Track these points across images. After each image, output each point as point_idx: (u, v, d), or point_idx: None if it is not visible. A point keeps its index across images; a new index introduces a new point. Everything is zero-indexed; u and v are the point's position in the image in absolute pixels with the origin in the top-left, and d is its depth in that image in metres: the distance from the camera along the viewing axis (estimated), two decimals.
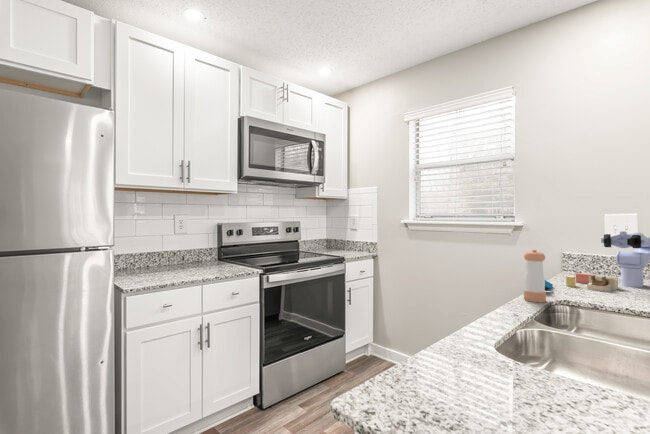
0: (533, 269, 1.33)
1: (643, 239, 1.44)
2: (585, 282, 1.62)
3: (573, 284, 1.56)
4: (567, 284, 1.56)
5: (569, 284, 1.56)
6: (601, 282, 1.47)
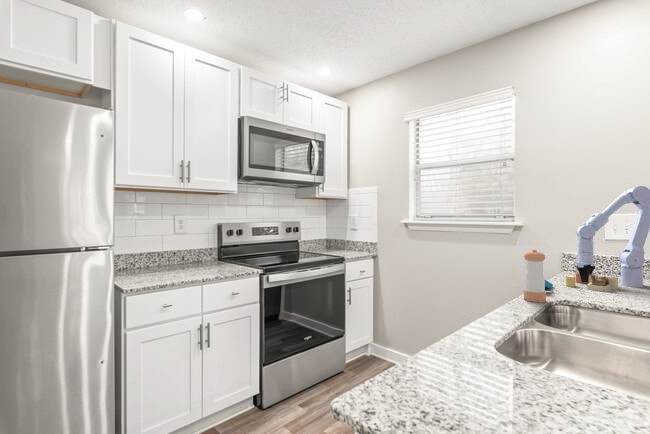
0: (533, 269, 1.33)
1: (578, 267, 1.59)
2: (585, 282, 1.62)
3: (573, 284, 1.56)
4: (567, 284, 1.56)
5: (569, 284, 1.56)
6: (601, 282, 1.47)
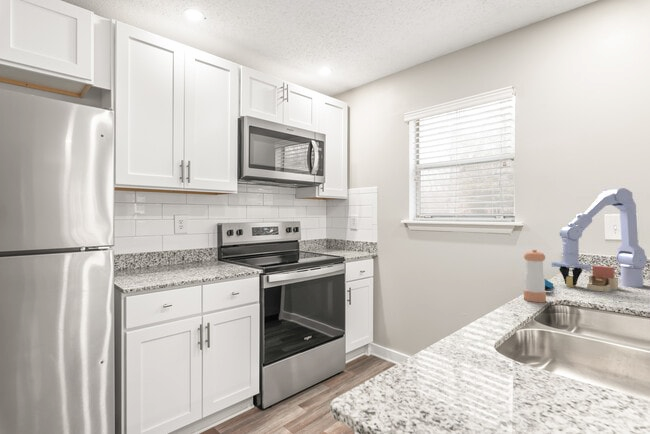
0: (533, 269, 1.33)
1: (588, 269, 1.51)
2: (603, 275, 1.52)
3: None
4: (567, 284, 1.56)
5: (569, 284, 1.56)
6: (601, 282, 1.47)
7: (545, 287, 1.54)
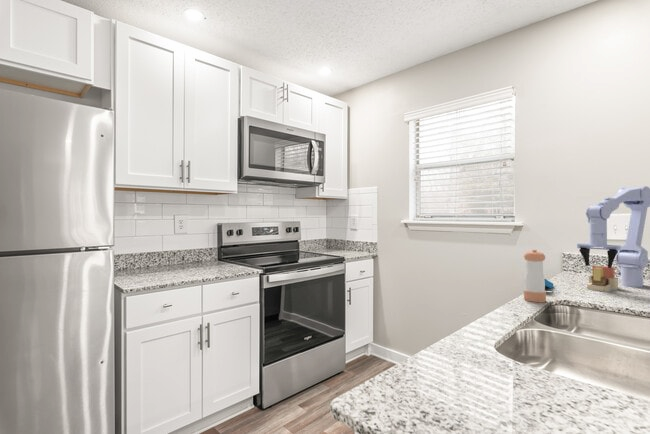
0: (533, 269, 1.33)
1: (618, 250, 1.43)
2: (603, 275, 1.52)
3: (601, 276, 1.48)
4: (594, 276, 1.48)
5: (596, 276, 1.48)
6: (601, 282, 1.47)
7: None
